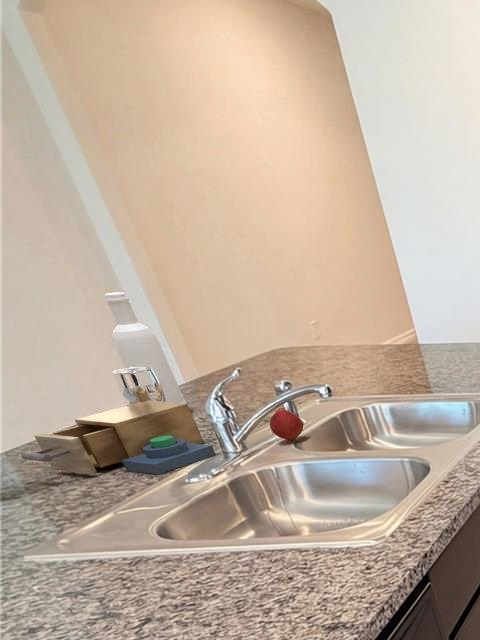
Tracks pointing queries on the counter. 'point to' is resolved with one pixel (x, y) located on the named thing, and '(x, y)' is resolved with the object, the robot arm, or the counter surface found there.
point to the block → (168, 457)
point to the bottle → (140, 345)
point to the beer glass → (139, 384)
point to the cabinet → (147, 424)
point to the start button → (162, 441)
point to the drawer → (79, 448)
